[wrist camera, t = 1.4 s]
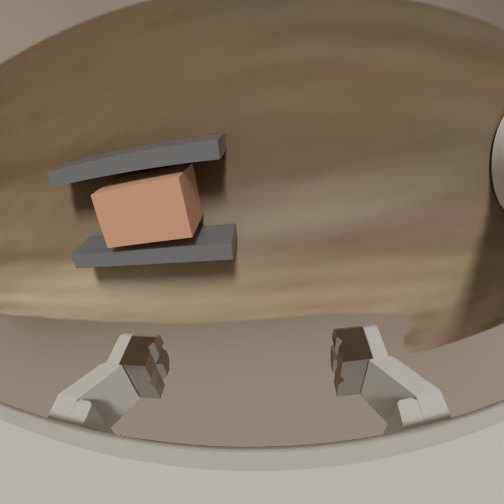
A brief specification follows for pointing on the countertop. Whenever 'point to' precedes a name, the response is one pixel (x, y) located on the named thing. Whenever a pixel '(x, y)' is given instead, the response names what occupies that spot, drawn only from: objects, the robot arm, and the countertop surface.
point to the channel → (144, 157)
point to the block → (149, 206)
